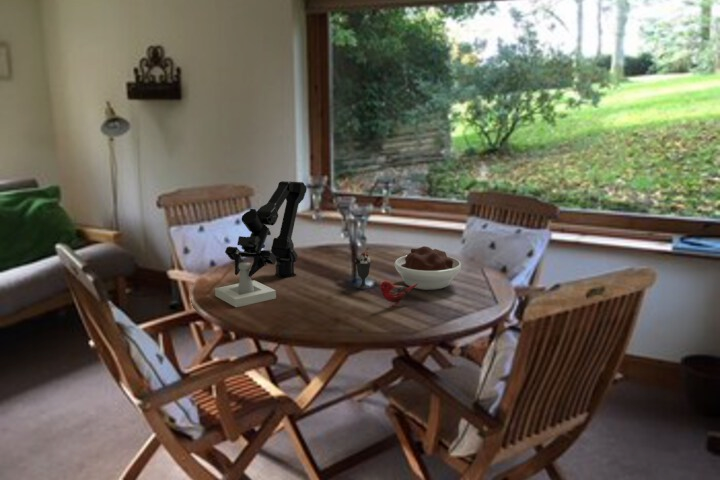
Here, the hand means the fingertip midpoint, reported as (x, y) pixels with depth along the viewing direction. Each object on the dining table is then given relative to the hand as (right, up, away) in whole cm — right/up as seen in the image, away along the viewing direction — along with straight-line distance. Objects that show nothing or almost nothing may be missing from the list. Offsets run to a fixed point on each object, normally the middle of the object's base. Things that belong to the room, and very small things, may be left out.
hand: (242, 275), depth 232 cm
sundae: (+43, -5, +15) cm, 46 cm away
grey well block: (+1, -8, +3) cm, 9 cm away
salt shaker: (+1, -8, +3) cm, 9 cm away
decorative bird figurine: (+56, -10, -6) cm, 57 cm away
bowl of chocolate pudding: (+68, -5, +16) cm, 70 cm away
